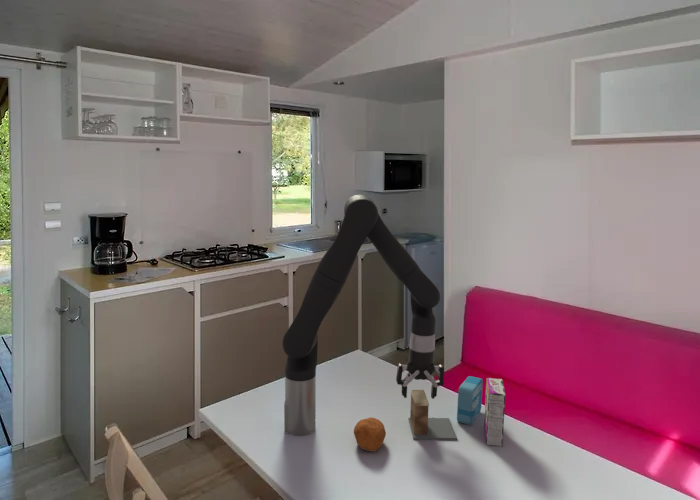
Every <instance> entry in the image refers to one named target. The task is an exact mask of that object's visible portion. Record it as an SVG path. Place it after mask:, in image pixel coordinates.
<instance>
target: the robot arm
mask: <svg viewBox="0 0 700 500" xmlns="http://www.w3.org/2000/svg"><path fill="white" fill-rule="evenodd" d="M343 214H344V216H343V220H342V223H341V226H340V227H339V230H338V233H337V235H336V238H335V239H334V241H333V243H332V244H331V246H330V247H329V248H328V250H327V251H326V252H325V253H324V255H323V257H322V258H321V260H319V263H318V264H317V266H316V269H315V271H314V273H313V275H312V277H311V279H310V282H309V284H308V287H307V289H306V292H305V294H304V297H303V300H302V302H301V305H300V308H299V309H298V312H297V314H296V316H295V317H294V319H293V321H292V323H291V324H290V325H289V327H288V329H287V331H285V333H284V335H283V337H282V349H283V352H284V353H285V355H286V356H287V357H286V363H285V369H284V381H285V382H284V386H285V387H284V393H285V394H284V396H285V397H284V399H285V400H284V403H283V404H284V406H283V407H284V409H283V415H284V416H283V417H284V418H283V419H284V423H283V425H284V426H283V427H284V429H283V430H284V431H283V432H284V433H285V434H289V435H292V436H306V435H310V434H312V433H313V432H315V431H316V422H317V420H316V418H317V417H316V416H317V415H316V405H317V404H316V399H317V398H316V396H317V395H316V391H317V390H316V387H317V384H316V379H317V377H316V376H317V375H316V374H317V365H318V348H319V347H318V346H319V345H318V343H319V341H318V339H319V338H318V331H319V329H320V326H321V324H322V322H323V320H324V319H325V317H326V316H327V314H328V313H329V312H330V310H331V309H332V307H333V305H334V304H335V303H336V301H337V299H338V297H339V295H340V293H341V292H342V290H343V288H344V286H345V284H346V281H347V279H348V277H349V275H350V273H351V270H352V268H353V266H354V263H355V261H356V259H357V255H358V253H359V252H360V249H361V247H362V246H363V244H364V242H365V241H366V239H367V240H369V241H370V243H372V245H373V246H374V248H375V249H376V250H377V252H378V253H379V255H380V257H381V258H382V259H383V261H384V263H385V264H386V265H387V267H388V268H389V269H390V271H391V272H392V273H393V275H394V276H395V278H396V279H398V280H399V282H400V283H401V284H403V286H405V287H406V289H407V290H408V291H409V292H410V306H411V307H410V308H411V309H410V310H411V315H412V317H411V326H410V328H411V329H410V336H409V341H408V346H409V349H408V351H409V352H408V363H407V364H402V363H401V362H399V363H397V368H396V369H397V370H396V378H395V381H396V384H397V385H399V386H401V395H402V397H403V398H404V399H407V397H408V395H407V394H408V385H409V384H410V383H411V382H413V380H416V381H417V380H418V381H419V380H422V381H427V379H428V381H429V382H430V383H431V387H430V389H431V390H430V397H431V399H432V400H433V399H435V398H436V397H437V396H438V395H437V394H438V387H440V386H441V387H442V386H444V384H445V368H444V366H443V364H441V363H440V364H438V365H435V364H434V363H435V361H434V360H435V349H436V347H435V346H436V345H435V344H436V316H435V314H434V312H433V308H435V307H436V306H437V305H438V304H439V303H440V300H441V293H440V290H439V289H438V287H437V286H436V284H434V282H433V281H432V280H431V279H430V278H429V277H428V276H427V275H426V274H425V273H424V271H422V270H421V268H420V266H419V264H418V263H417V262H416V261H415V259H414V258H413V257H412V256H411V255H410V252H408V250H406V248H405V247H404V246H403V244H401V242H399V240H398V238H396V237H395V236H394V234H393V233H392V232H391V230H389V228H388V226H387V225H386V224H385V223H384V221H383V219H382V218H381V216H380V214H379V211H378V207H377V204H375V202H374V200H372V198H371V197H369V196H366V195H364V194H356V195H355V194H354V195H352V196H351V197H349V198H348V199H347V201H346V202H345V204H344V208H343ZM406 370H407V371H408V373H407V374H406V375H405V376H404V378H403V373H404V372H405V371H406ZM435 371H436V373H438V374H437V375H438V376H437V377H438V379H437V380H436V379H435V378H434V376H433V373H434V372H435ZM402 378H403V379H402Z"/></svg>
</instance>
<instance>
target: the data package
mask: <svg viewBox="0 0 700 500" xmlns="http://www.w3.org/2000/svg"><path fill="white" fill-rule="evenodd" d="M483 383H484V381H483V378H482V377H481V378H480V377H475V376H471V375H469V376H467V377H466V379H465V380H464V381H463V382H462V383H461V384H460V386H459V387H458V392H457V393H458V394H457V412H456V421H457V422H458V423H462V424H465V425H469V426H471V425H473V424H474V422H475V421H476V419H477V417H479V414H480V413H481V410H482V399H483V387H484V386H483V385H484V384H483Z"/></svg>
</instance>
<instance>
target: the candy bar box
mask: <svg viewBox="0 0 700 500" xmlns="http://www.w3.org/2000/svg"><path fill="white" fill-rule="evenodd" d="M484 400H485V401H484V423H483V427H484V428H483V429H484V436H485V445H486V446H490V447H491V446H492V447H499V448H500V447H501V448H502V447H503V440H504V426H505V412H506V411H505V410H506V409H505V408H506V391H505V385H504V381H503V379H502V378H494V377H493V378H492V377H486V383H485V399H484Z"/></svg>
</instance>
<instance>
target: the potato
mask: <svg viewBox="0 0 700 500" xmlns="http://www.w3.org/2000/svg"><path fill="white" fill-rule="evenodd" d="M386 434H387V432H386V428H385V426H384V424H383V422H382V421H381V420H379V419H377V418H375V417H367V418H363V419H360V420H359V421H358V422H357V423H356V424H355V426H354V428H353V436H354V438H355V442H356V443H357V445H358V446H359V447H360V449H362V450H365V451H367V452H376V451H377V450H378V449H379V448H380V447H382V445H383V443H384V441H385V438H386Z"/></svg>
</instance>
